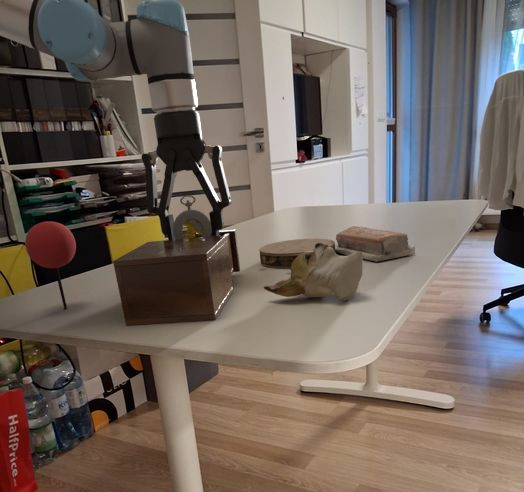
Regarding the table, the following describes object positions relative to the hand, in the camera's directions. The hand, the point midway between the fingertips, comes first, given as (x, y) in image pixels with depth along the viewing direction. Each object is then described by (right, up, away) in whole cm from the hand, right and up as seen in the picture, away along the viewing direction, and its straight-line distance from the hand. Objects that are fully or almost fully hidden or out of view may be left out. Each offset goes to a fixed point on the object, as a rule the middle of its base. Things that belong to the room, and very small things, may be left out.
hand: (196, 250), depth 94 cm
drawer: (+1, -4, +5) cm, 7 cm away
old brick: (+35, +2, +15) cm, 38 cm away
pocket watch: (0, 0, 0) cm, 0 cm away
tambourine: (+20, +1, +17) cm, 26 cm away
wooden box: (-1, -11, -10) cm, 15 cm away
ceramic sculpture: (+21, -10, -12) cm, 26 cm away
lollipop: (-22, -11, -3) cm, 25 cm away
